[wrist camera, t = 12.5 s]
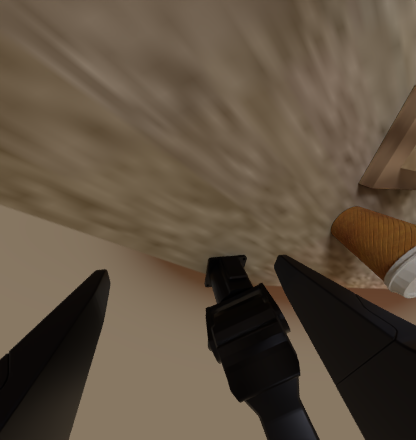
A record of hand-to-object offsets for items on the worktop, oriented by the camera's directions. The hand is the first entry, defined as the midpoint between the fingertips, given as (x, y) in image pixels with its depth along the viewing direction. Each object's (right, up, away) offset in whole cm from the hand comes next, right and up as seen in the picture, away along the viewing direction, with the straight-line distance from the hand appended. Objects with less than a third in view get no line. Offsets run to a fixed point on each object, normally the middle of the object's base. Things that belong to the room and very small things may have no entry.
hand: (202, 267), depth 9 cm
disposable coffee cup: (+25, +2, +21) cm, 33 cm away
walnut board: (+30, +13, +16) cm, 36 cm away
